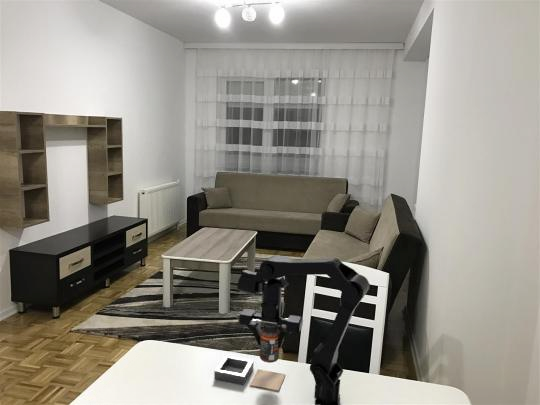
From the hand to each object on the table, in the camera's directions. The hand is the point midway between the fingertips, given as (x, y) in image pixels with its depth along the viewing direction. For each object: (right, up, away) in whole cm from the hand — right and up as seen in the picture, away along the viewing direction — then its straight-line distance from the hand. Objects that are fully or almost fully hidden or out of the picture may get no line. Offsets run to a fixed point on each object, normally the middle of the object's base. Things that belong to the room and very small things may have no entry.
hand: (269, 346), depth 138 cm
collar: (-11, -10, +5) cm, 16 cm away
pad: (-1, -11, +2) cm, 12 cm away
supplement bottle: (0, -4, +1) cm, 4 cm away
